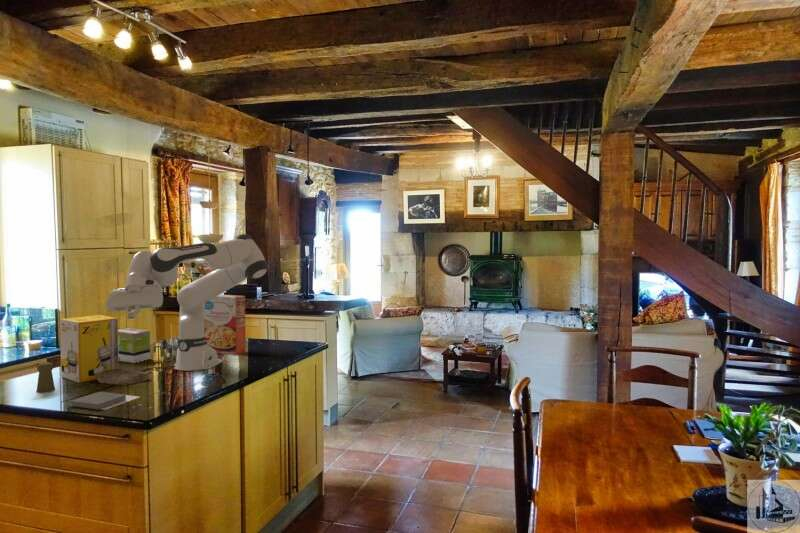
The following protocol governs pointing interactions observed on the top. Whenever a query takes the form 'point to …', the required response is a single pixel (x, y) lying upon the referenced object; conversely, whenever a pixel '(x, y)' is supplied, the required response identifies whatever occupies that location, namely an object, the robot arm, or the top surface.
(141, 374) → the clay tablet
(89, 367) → the packaging box
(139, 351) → the tea box
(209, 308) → the pasta box
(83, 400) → the slate tile
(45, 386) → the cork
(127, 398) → the beige mat
